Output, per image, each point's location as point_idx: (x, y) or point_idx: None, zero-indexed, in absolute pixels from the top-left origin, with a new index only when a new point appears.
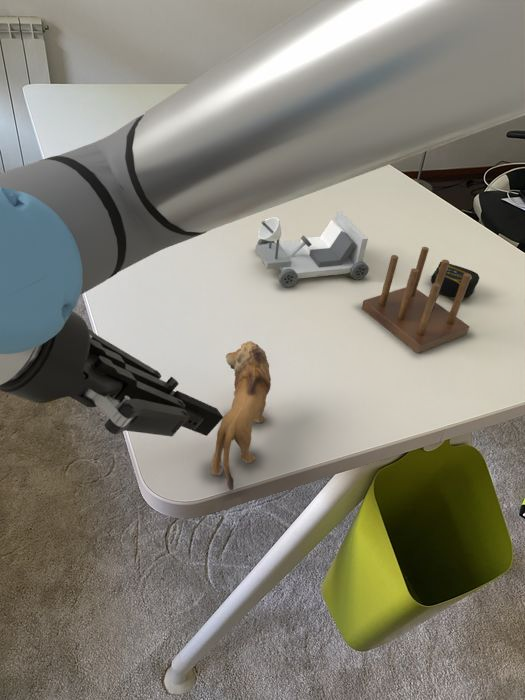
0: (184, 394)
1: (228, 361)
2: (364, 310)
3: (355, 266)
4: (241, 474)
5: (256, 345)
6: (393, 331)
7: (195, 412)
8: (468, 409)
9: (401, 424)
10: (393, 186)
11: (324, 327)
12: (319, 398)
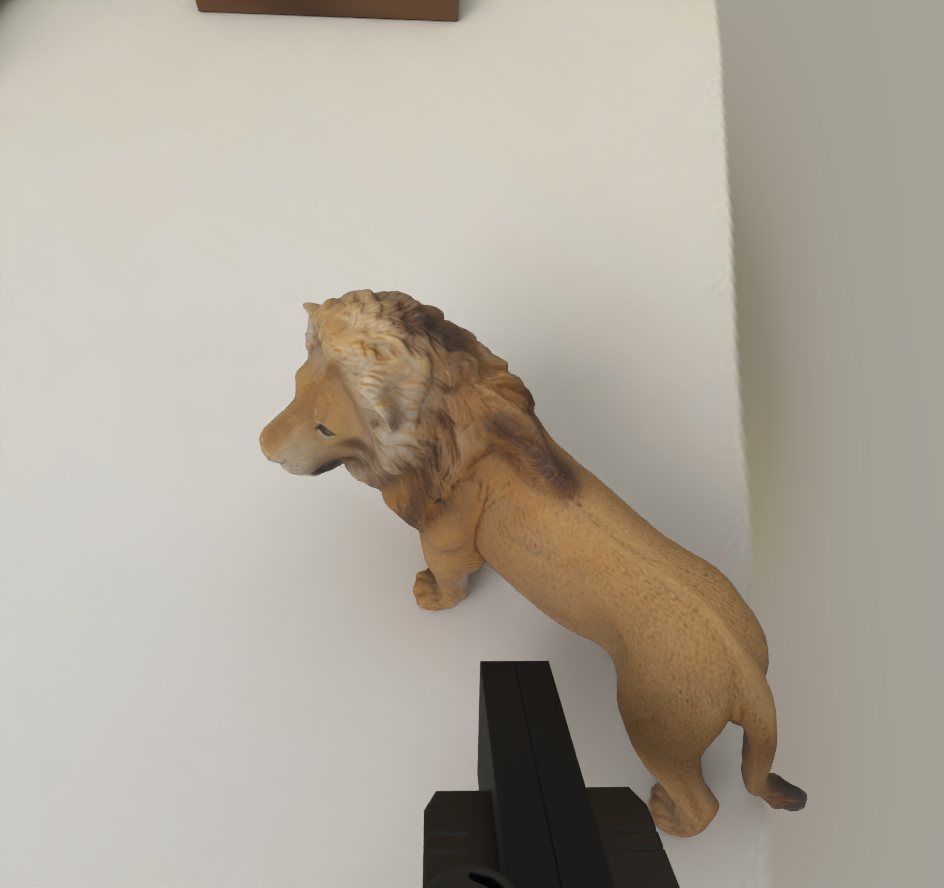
0: (514, 842)
1: (304, 465)
2: (212, 11)
3: None
4: None
5: (374, 295)
6: (350, 8)
7: (596, 819)
8: (695, 55)
9: (684, 191)
10: None
11: (199, 124)
12: (486, 303)
